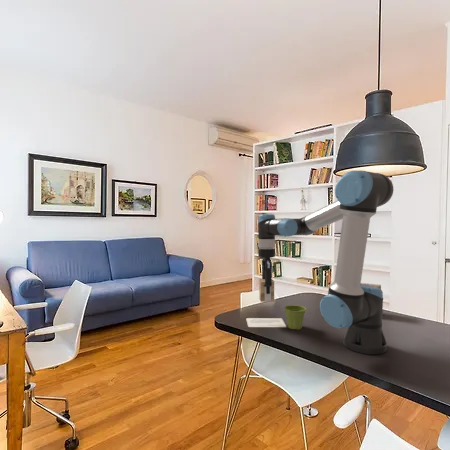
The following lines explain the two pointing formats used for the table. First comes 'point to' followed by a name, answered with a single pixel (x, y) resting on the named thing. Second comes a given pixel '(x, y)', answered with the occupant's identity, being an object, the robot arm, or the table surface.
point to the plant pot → (294, 316)
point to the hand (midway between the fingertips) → (266, 298)
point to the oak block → (262, 291)
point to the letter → (265, 322)
